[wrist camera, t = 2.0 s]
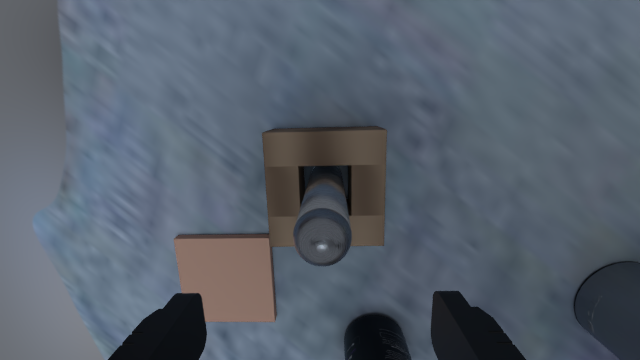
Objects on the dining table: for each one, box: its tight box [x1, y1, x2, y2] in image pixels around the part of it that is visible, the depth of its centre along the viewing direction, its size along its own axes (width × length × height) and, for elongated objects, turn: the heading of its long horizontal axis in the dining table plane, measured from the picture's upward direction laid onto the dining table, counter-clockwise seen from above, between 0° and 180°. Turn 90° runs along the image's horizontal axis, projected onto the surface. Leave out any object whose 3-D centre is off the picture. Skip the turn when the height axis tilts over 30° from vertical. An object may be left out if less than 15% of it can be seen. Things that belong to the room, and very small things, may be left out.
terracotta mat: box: [174, 234, 277, 322], centre depth 32 cm, size 10×10×1 cm
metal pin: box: [293, 165, 352, 266], centre depth 22 cm, size 3×3×16 cm
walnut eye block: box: [262, 126, 387, 247], centre depth 27 cm, size 10×10×5 cm
